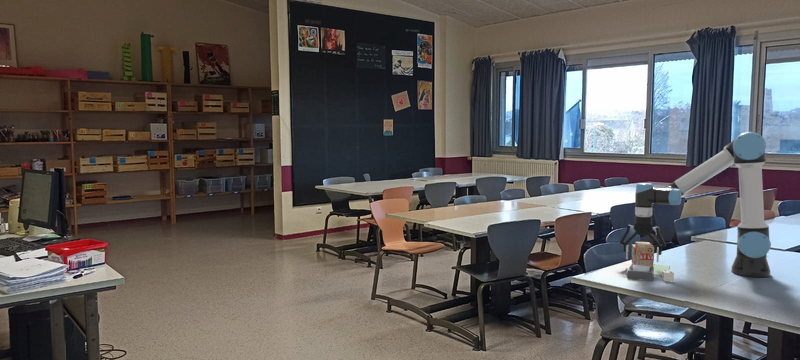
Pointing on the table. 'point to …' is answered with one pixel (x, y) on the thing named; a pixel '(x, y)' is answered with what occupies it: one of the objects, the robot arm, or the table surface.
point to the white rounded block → (641, 268)
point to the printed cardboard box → (643, 254)
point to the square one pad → (660, 269)
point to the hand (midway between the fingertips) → (642, 260)
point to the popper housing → (641, 274)
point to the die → (667, 275)
